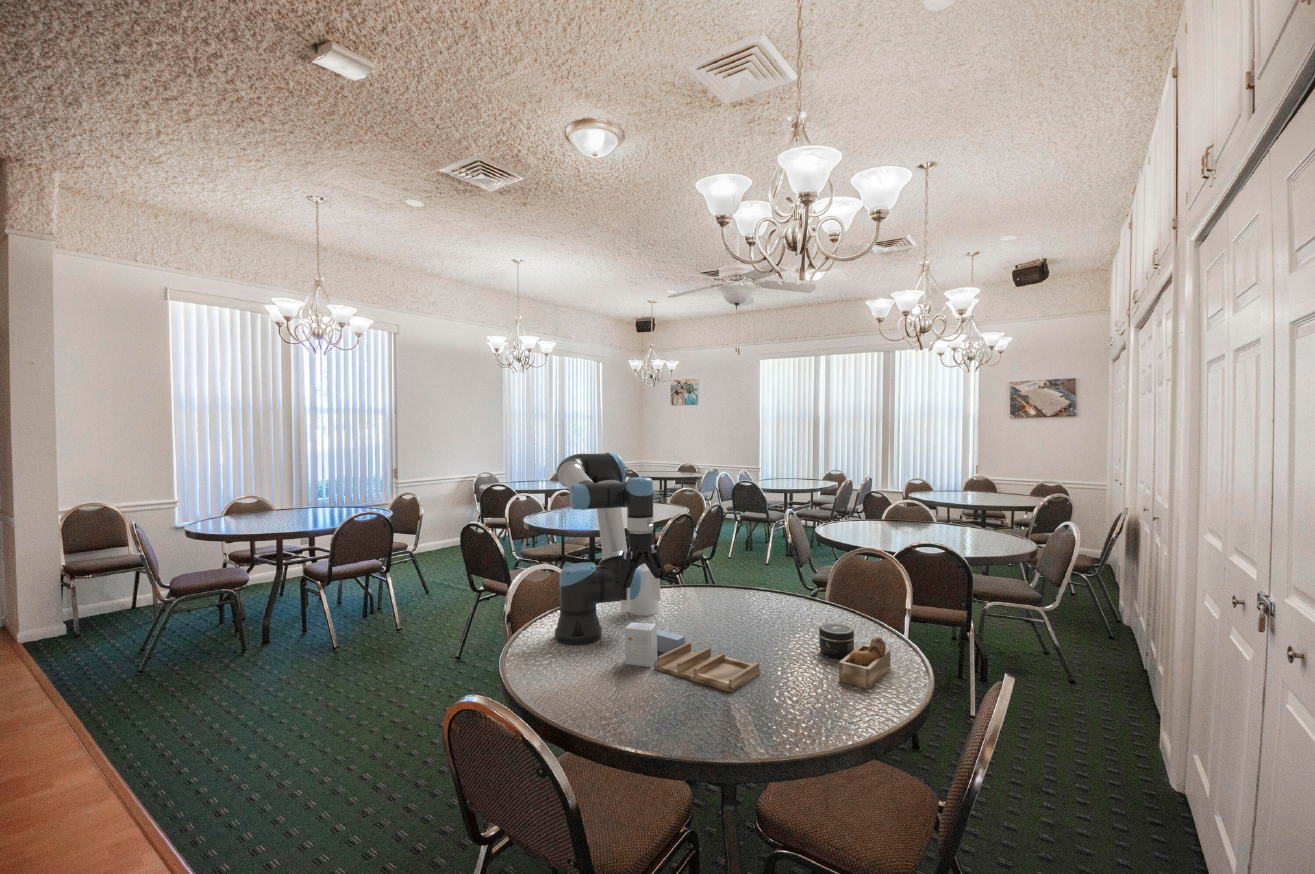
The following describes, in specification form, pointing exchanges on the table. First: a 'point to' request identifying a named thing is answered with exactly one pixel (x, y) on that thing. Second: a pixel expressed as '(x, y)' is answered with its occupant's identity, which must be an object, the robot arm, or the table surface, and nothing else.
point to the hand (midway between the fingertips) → (641, 605)
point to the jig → (707, 668)
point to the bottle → (645, 596)
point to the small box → (641, 644)
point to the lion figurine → (868, 653)
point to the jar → (836, 640)
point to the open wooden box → (864, 669)
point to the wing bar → (668, 641)
